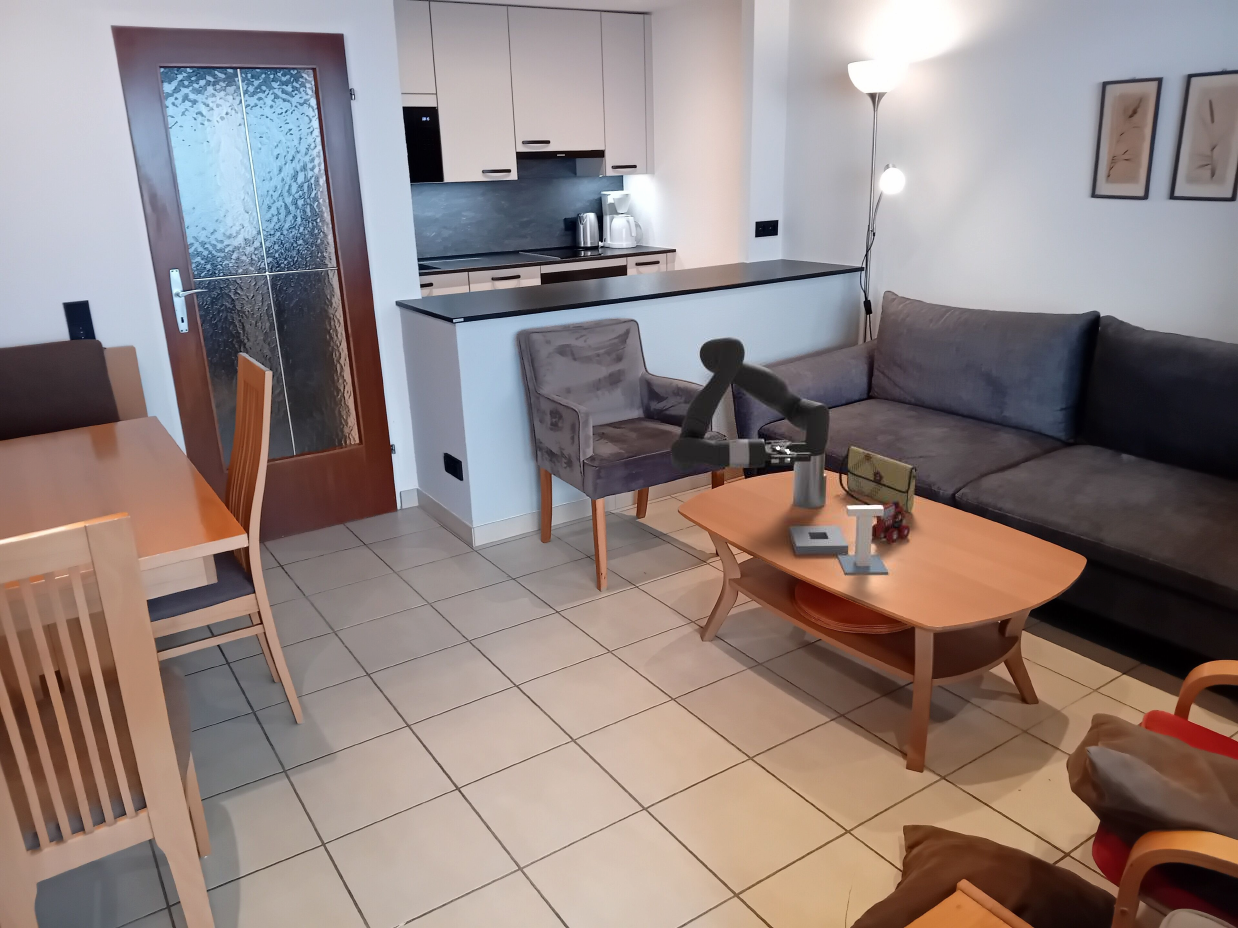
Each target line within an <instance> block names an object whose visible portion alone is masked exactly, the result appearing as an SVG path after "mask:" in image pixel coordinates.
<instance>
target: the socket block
mask: <svg viewBox="0 0 1238 928" xmlns="http://www.w3.org/2000/svg"><path fill="white" fill-rule="evenodd" d="M789 536H790V539H791V542H792V546H793V549H794V551H795V552H794V553H795V555H798V556H799V555H849V544H848V540H847V539H846V537H845V535H844V533H843V531H842V529H841V527H840V525H818V526H817V525H810V526H809V525H808V526H807V525H805V526H803V525H802V526H801V525H799V526H798V525H797V526H795V525H794V526H792V525H791V526H789Z"/></svg>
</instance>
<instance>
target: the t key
mask: <svg viewBox="0 0 1238 928" xmlns="http://www.w3.org/2000/svg"><path fill="white" fill-rule="evenodd" d="M883 506H884V505H881V504H879V505H878V504H871V505H866V504H865V505H862V504H861V505H846V511H845V512H846V515H847V516H848V517H856V521H855V522H856V523H855V540H854V541H855V542H854V543H855V544H854V555H855V559H854V561H855V563H856V565H857V566H870V559H871V555H872V554H871V553H872V539H873V537H872V526H873V523H874V522H873V520H874V517H876V516H883V514H884V508H883Z"/></svg>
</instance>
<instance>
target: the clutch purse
mask: <svg viewBox="0 0 1238 928" xmlns="http://www.w3.org/2000/svg"><path fill="white" fill-rule="evenodd" d="M845 463H846V464H845ZM844 465H845V467H846V470H847V473H846V487H847V488H846V487H845V486H844V483H843V477H842V476H843V471H844V470H843V469H844ZM838 472H839V473H838V480H839V485H840V487H841V489H842V490H843V491H844V492H845V493H846V494H847V495H848V496H850V497H851V498H853V499H855V500H857V501H859V502H861V503H862V504H865V505H872V504H870V503H869V502H866V501H865V500H863V499H861V498H858V497H857V496H855V495H854V494H852V493H851V492H850V491H853V492H856V493H858V494H861V495H863V496H866V497H869V498H871V499H873V500H876V501H879V502H881V503H883V504H885V505H888V504H892V503H893V502H894V501H898V502H899V503H900V506H902V508H903V511H904V512H907V513H909V514H910V513H912V511H913V508H914V507H913V506H914V500H915V489H916V485H917V483H916V481H917V475H916V472H917V467H916V466H913V465H910V464H907V463H903V462H901V461H898V460H894V459H891V458H889V457H885V456H882V455H879V454H876V453H873V452H870V451H868V450H864V449H862V448H859V447H855V446H852V445H850V446H848V448H847V450H846V453H845V455H844V457H843V458H842V460H841V464H840V467H839V471H838ZM847 489H848V490H850V491H848V490H847Z"/></svg>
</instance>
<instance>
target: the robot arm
mask: <svg viewBox="0 0 1238 928" xmlns="http://www.w3.org/2000/svg"><path fill="white" fill-rule="evenodd" d="M745 352H746V351H745V347H744V344H743V342H742V341H741V340H740V339H738V338H736V337H729V336H728V337H723V338H722V337H720V338H715V339H714V338H713V339H710V340H708V341H706V342H704V343H703V344H702V346H701V347H700V348H699V359H700V362H701V364H702V365H703V367H704V368H705V369H706V370H707V371H708V372H710V373H712V374H713V375H712V376H711V378H710V379H709V380H708V382H707V383H706V384H705V386H704V387H703V388H702V389H701V390H700V391H699V392H698V393H697V394H696V396H695V397H694V398H693V399H692V401H691V402H690V404H689V406H688V409H687V411H686V413H685V416H684V419H683V420H682V424H681V427H680V428H681V430H680V434H679V437H678V438H677V439H676V440H674V441H673V442H672V444H671V446H670V450H669V451H670V452H669V453H670V461H671V464H672V466H673V468H674V469H676V470H678V471H680V472H688V471H689V470H691V469H692V468H694V467H695V465H696V464H697V463H703V464H707V465H708V467H711V468H735V469H736V468H738V469H739V468H745V469H746V468H764V467H765V466H766V461H767V462H770V465H771V466H793V489H792V490H793V491H792V495H793V496H792V503H793V505H794V506H795V507H797V508H800V509H808V510H812V509H818V508H821V507H822V506H823V505H826V500H827V475H826V474H825V457H826V456H825V455H826V454H825V453H826V452H825V451H826V447H827V444H828V442H829V441H828V440H829V433H830V432H829V430H830V420H831V419H830V415H831V414H830V410H829V408H828V406H827V405H826V404H824V403H822V402H818V401H813V400H809V399H805V398H803V397H800V396H798V395H797V394H795V393H793V392H791V390H790V389H789V387H788V383H787V382H786V381H785V380H784V379H783V378H782V377H780V376H779V375H778V374H776V373H775V372H774V371H772V370H771V369H770V368H767V367H765V366H761V365H758V364H756V363H753V362H749V361H746V360H745V356H746V355H745V354H746V353H745ZM731 384H733V385H735V386H736V387H737V388H739V389H741V390H742V391H743V392H745V393H747V394H748V395H750V397H752V398H753V399H755V400H756V401H758V402H759V403H761V404H763V405H764V406H766V407H768V408H770V409H771V410H773V411H776V412H777V413H779V414H780V415H781V416H782V417H784V419H785V420H786V421H788V422H789V423H790V424H791V425H792V426H794V427H795V428H796V429H800V430H802V431H805V437H804V438H803V439H800V440H798V441H796V442H793V443H792V442H791V441H789V440H787V439H783V440H782V439H781V440H780V439H778V440H777V439H776V440H766V441H765V439H764V438H737V439H731V440H727V439H726V440H709V439H705V437H706V434H707V433H708V431H709V428H710V426H711V423H712V421H713V418H714V415H715V413H716V410H717V409H718V406H719V404H720V403H721V400H722V399H723V397H724V395H726V392H727V390H728V389H729V387H730V385H731Z"/></svg>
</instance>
